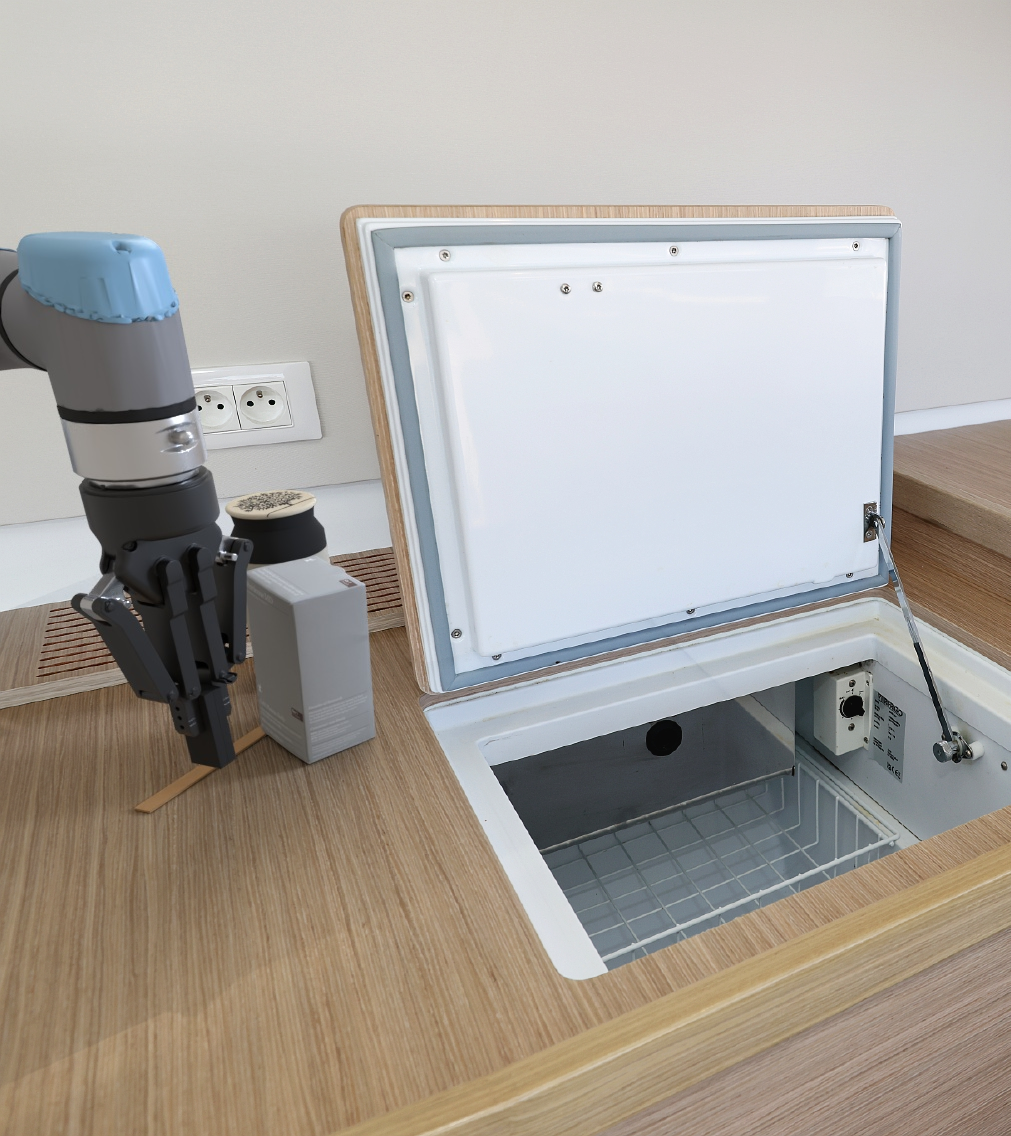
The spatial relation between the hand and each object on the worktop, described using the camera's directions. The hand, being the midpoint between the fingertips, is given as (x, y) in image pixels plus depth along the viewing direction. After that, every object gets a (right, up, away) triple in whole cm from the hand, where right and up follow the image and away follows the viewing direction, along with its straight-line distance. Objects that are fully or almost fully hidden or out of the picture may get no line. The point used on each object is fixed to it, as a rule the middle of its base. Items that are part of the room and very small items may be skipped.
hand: (214, 760), depth 74 cm
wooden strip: (-4, -1, +9) cm, 10 cm away
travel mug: (-6, +5, +23) cm, 24 cm away
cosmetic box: (+2, 0, +12) cm, 12 cm away
